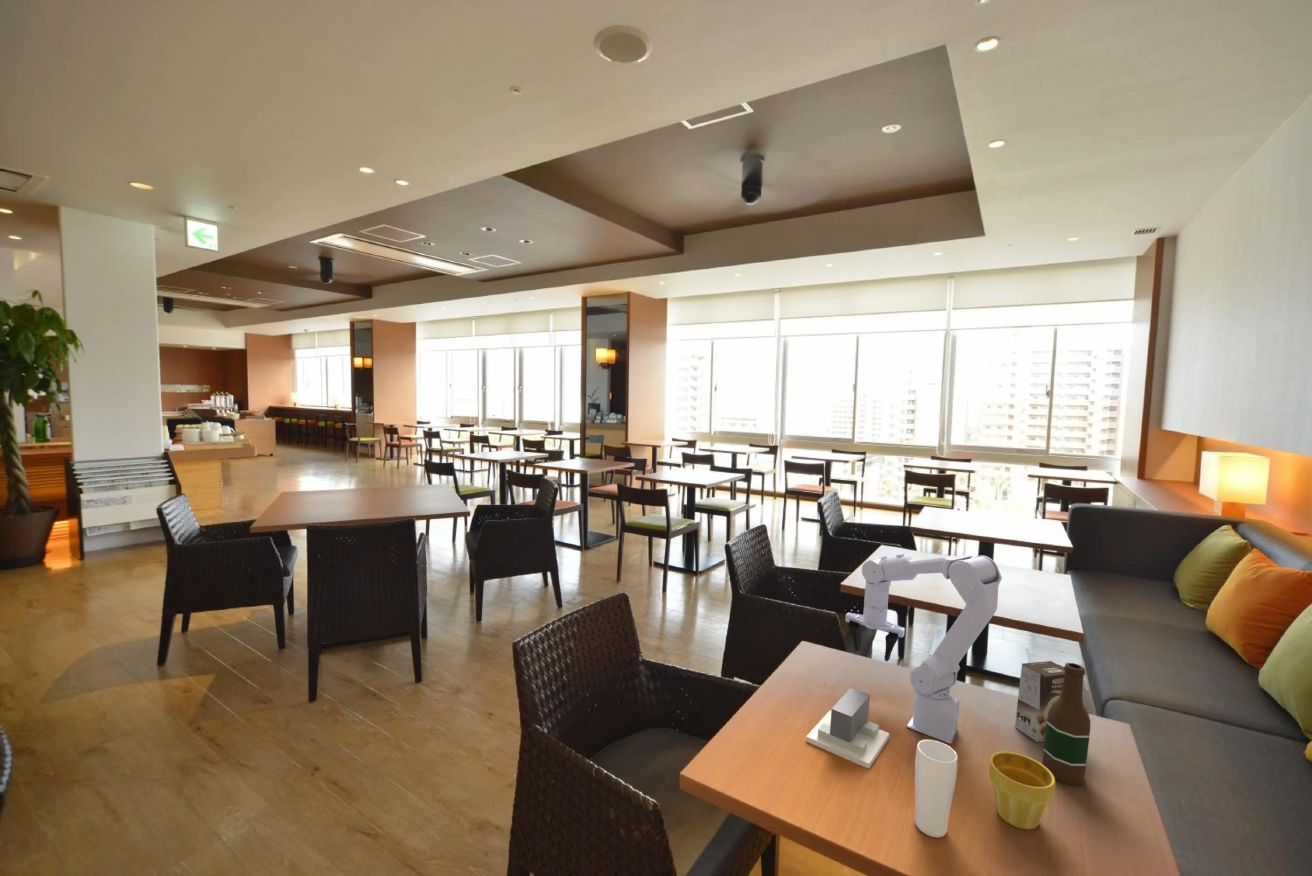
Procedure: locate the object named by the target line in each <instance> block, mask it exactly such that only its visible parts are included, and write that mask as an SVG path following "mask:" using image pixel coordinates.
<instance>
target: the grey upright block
mask: <svg viewBox="0 0 1312 876" xmlns="http://www.w3.org/2000/svg"><path fill="white" fill-rule="evenodd" d="M870 698H871V694H870V693H867V692H865V691H861V690H859V689H856V688H853V687H850V688H849V689H848V690H847V691H846V692H845V693H844V694H843V695H842V697H841V698H840V699H839V700H838V701H837V702H836V704H834V705H833V706H832V707H831V709H830V710H831V724H830V735H832V736H834V737H837V738H839V739H842V740H844V741H846V742H849V743H850V742H851V741H852V740H853V738H854V737H855V736H856V734H857V733H858V732H859V730H860V729H861V728H862V726H863V725H864V724H865V722H866V721H869V712H870V700H871V699H870Z"/></svg>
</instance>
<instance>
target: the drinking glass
mask: <svg viewBox="0 0 1312 876" xmlns="http://www.w3.org/2000/svg"><path fill="white" fill-rule="evenodd" d="M958 759H959V758H958V754H957V752H956V751H955V750H954V749H953V748H952V747H951V746H949V745H947V744H946V743H943V741H938V740H934V739H923V740H919V741H918V742H917V744H916V750H915V759H914V761H915V762H914V798H915V799H914V803H915V804H914V810H915V811H914V823H915V826H916V828H917V829H918V830H919V831H920V832H922V833H923V834H925V835H927V836H929V837H932V838H942V837H945V835H947V832H948V822H949V817H950V813H951V807H952V801H953V797H954V794H955V786H956V782H957V776H958V775H957V774H958V761H959V760H958Z"/></svg>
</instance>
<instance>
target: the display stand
mask: <svg viewBox="0 0 1312 876" xmlns="http://www.w3.org/2000/svg"><path fill="white" fill-rule="evenodd" d="M831 710H832V709H830V710H828V711H827V713H826V714H825V715H824V716H823V717H822V718H821V720H819V722H818V723H817V724H816V725H815V726H814V727H813V728H812V729H811V731H810V732H809V733H808V734H807V735H806V738H805V742H806V743H809V744H810V745H813V746H816V747H818V748H820V749H823V750H825V751H827V752H829V753H831V754H833V755H836V756H838V757H841V758H843V759H845V760H848V761H849V762H852V763H854V764H857V765H859V766H861V767H864V768H866V769H868V770H869V769H870V768H871V767H872V765H873V764H874V762H875V760H876V759H877V757H878V756H879V754H880V753H881V752H882V750H883V748H884V747H885V745H886V743H887V742H888V741H889V739H890V733H889V732H887V731H885V730H882V729H879V728H880V725H879V724H877V723H874V722H872V721H869V720H867V721H866V722H865V724H864V725H863V726H862V728H861V729H860V730H859V732H858V733H857V734H856V736H855V737H854V738H853V740H852V741H851V742H850V743H849V742H846V741H844V740H842V739H839V738H837V737H834V736H832V735H830V724H831Z"/></svg>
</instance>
